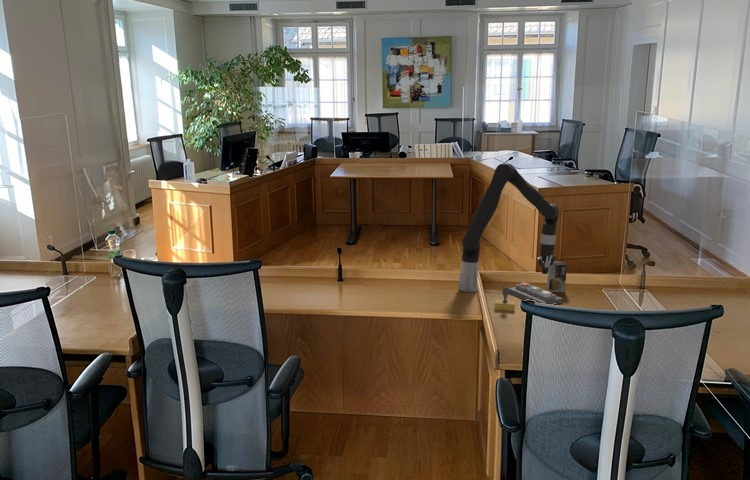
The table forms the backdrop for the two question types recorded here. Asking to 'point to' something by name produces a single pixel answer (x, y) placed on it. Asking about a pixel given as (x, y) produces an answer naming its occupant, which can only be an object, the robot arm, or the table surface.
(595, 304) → the table surface
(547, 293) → the cream button
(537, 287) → the sage button
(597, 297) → the table surface
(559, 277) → the coffee box
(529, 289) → the console
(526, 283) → the terracotta button
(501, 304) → the rubber stamp
